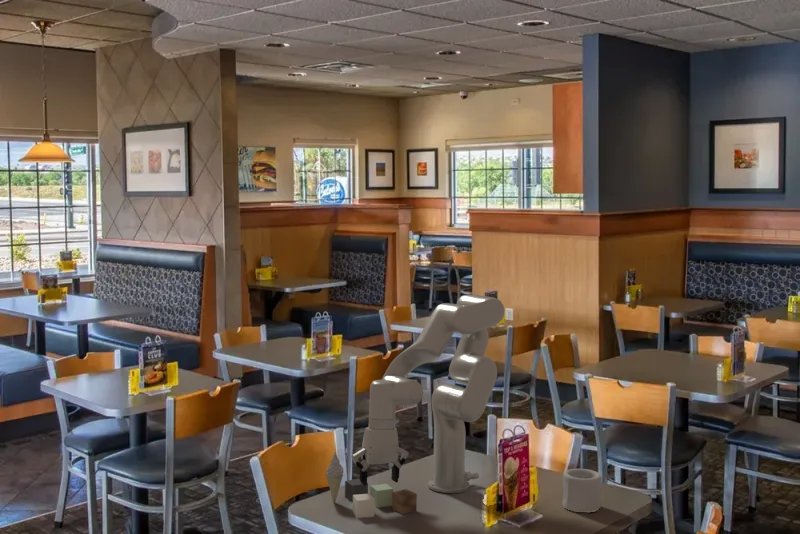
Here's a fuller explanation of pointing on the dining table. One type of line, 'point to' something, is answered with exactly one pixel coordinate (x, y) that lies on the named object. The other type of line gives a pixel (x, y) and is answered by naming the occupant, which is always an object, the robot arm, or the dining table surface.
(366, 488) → the black block
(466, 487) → the robot arm
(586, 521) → the dining table surface
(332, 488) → the ice cream cone
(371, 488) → the sage block
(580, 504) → the mug
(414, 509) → the walnut block
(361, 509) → the offwhite block
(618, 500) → the dining table surface
